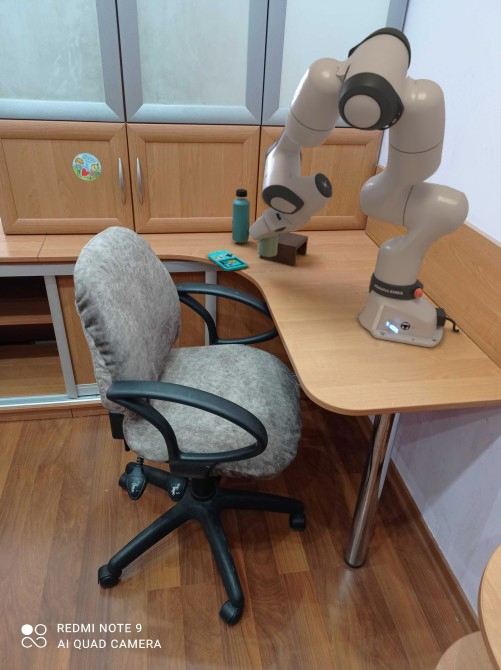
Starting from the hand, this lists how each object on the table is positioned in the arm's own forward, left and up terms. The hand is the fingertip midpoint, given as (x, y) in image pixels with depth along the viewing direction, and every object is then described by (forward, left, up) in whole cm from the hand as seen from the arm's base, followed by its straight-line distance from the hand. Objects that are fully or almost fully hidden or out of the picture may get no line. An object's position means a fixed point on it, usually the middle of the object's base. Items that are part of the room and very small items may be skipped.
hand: (267, 237), depth 148 cm
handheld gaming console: (+16, -4, -13) cm, 22 cm away
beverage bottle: (+20, -22, -14) cm, 33 cm away
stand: (+1, -19, -13) cm, 23 cm away
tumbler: (-1, 0, -5) cm, 5 cm away
